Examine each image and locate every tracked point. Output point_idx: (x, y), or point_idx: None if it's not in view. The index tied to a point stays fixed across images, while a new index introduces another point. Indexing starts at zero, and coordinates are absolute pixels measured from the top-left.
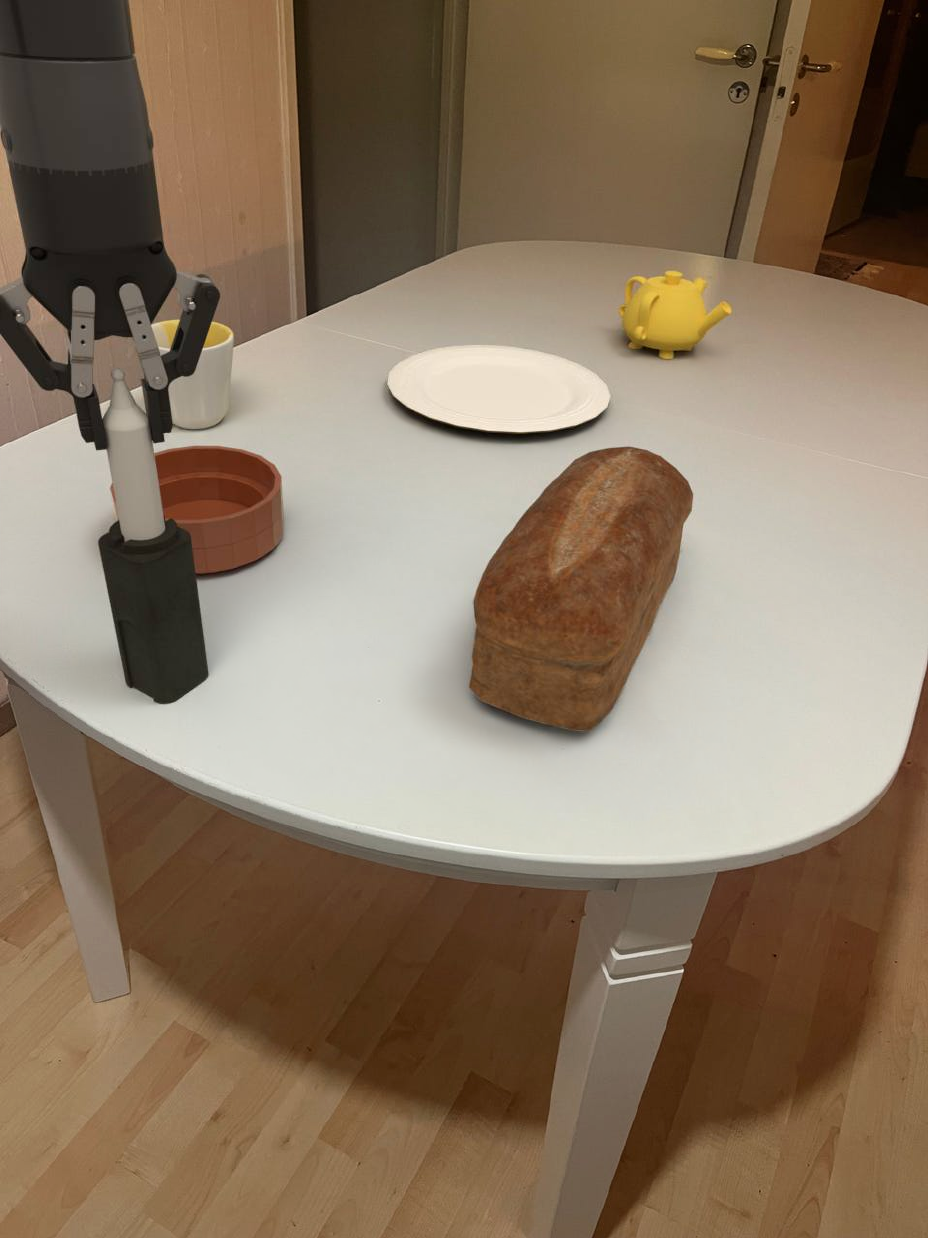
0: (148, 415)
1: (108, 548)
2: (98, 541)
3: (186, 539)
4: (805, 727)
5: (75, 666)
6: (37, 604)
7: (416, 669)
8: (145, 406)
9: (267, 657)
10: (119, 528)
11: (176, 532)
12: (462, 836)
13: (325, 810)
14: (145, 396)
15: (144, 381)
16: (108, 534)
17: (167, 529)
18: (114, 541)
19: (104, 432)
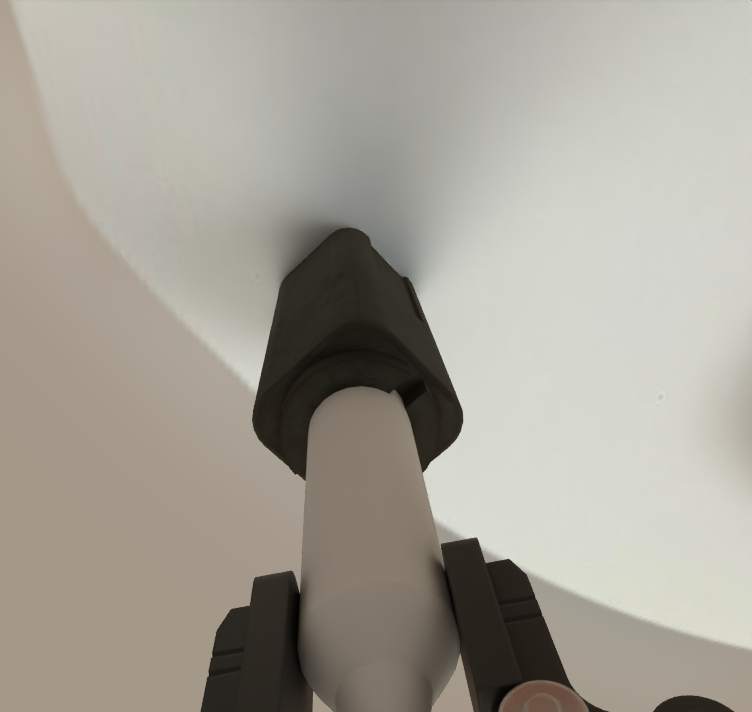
0: (462, 651)
1: (280, 459)
2: (254, 426)
3: (453, 440)
4: None
5: (188, 237)
6: (69, 4)
7: (743, 335)
8: (457, 615)
9: (516, 265)
10: (303, 422)
11: (435, 447)
12: (672, 619)
13: (534, 568)
14: (476, 709)
15: (489, 709)
16: (274, 403)
17: (416, 441)
18: (295, 472)
19: (311, 700)
